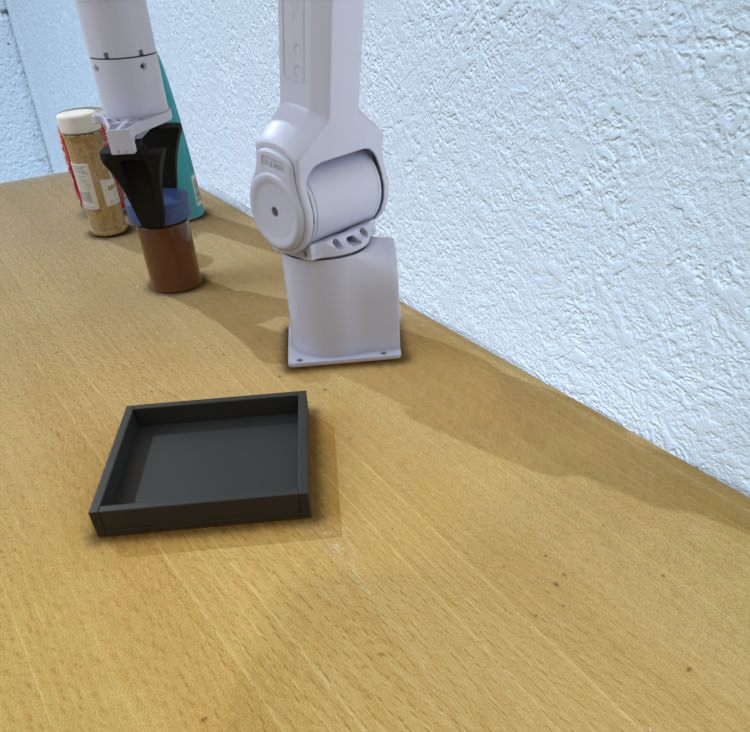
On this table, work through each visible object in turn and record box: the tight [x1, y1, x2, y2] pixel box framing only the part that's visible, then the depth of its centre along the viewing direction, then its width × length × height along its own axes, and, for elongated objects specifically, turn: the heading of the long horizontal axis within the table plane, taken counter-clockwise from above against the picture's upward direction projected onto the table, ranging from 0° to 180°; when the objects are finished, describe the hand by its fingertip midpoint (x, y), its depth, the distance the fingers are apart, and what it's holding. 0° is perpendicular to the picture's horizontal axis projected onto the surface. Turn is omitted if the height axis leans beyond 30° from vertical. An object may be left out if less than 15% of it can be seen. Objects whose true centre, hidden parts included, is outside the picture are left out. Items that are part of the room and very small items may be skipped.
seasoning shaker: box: [56, 106, 127, 213], centre depth 91 cm, size 7×7×12 cm
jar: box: [135, 218, 202, 294], centre depth 71 cm, size 5×5×8 cm
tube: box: [156, 50, 205, 221], centre depth 85 cm, size 7×5×19 cm, turn 31°
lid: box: [124, 188, 192, 226], centre depth 69 cm, size 6×6×2 cm
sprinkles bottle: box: [55, 109, 129, 237], centre depth 84 cm, size 5×5×13 cm
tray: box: [88, 390, 313, 538], centre depth 47 cm, size 13×12×2 cm
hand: (160, 215), depth 69 cm, fingers closed on lid, 6 cm apart
